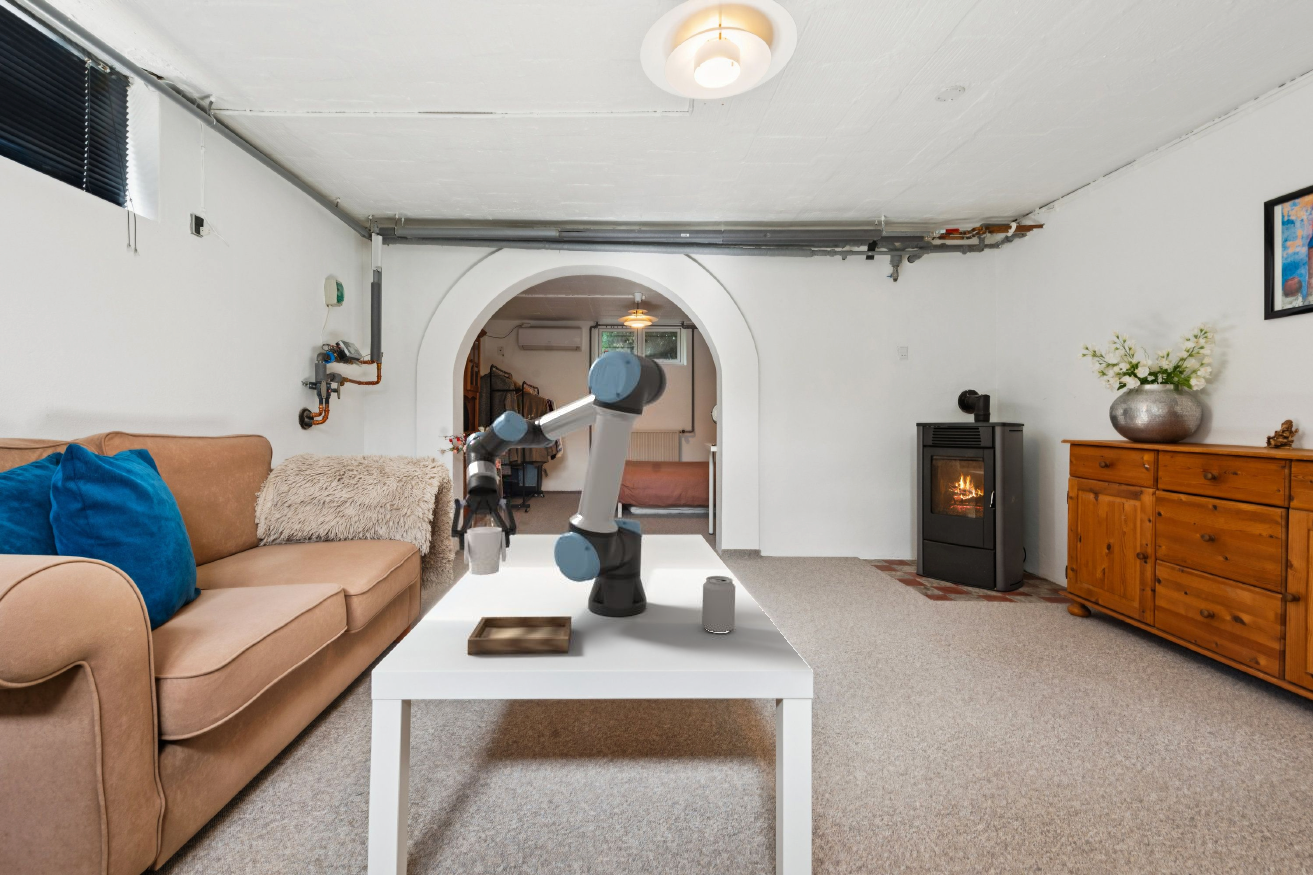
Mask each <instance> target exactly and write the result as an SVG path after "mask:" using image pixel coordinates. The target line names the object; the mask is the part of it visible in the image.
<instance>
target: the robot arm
mask: <svg viewBox="0 0 1313 875" xmlns="http://www.w3.org/2000/svg"><path fill="white" fill-rule="evenodd" d="M587 383H588V384H587V385H588V388H590V394H588V395H585V396H582V397H581V398H579V399H577V400H574V401H572V402H570V403H568V404H566V405H564V406H561V407H559V408H557V409H555V410H553V411H552V410H551V411H550V412H548V413H546V414H544V415H542V416H539V417H537V418H535V419H532V420H531V419H525V418H524V417H523V416H522V415H521V414H520V413H516V412H515V411H512V410H507V411H505V412H503V413H502V414H501V415H500V416H499V417H497V418H496V419H495V420H494V422H493V423H492V424H491V425H490V426H489V427H488V428H487V429H485V431H478V432H476V433H472V434H470V436H468V437H467V439H466V442H465V443H466V444H465V445H466V446H465V463H466V498H465V499H459V498H454V499H453V500H454V502H453V508H454V512H453V513H454V514H453V519H452V523H451V528H450V537H451V538H453V539H455V538H457V539H458V548H459V551H463V552H464V554H463V558H464V561H463V562H464V563H463V564H464V565H469V560H468V536H467V530H468V529H470V527H471V525H472V524H473V521H474V520H475V519H476V518H477V517H476V516H481V515H487V516H488V515H489V516H490V518H491V519H493V521H494V523H495V525H496V527H499V528H502V540H501V554H500V555H501V563H503V562H504V563H506V560H507V548H508V549H510V547H511V546H510V545H511V538H510V537H511V536H515V535H516V534H517V528H518V527H517V522H516V520H515V516H514V513H513V509H512V505H511V504H512V503H511V502H512V498H511V497H507V498H506V499H503V498H501V497H500V496H499V495H500V494H499V489H498V488H499V487H498V473H497V472H498V471H497V461H498V459H499V458H501V457H502V456H503V455H504V454H505V453H506V452H507V451H508V450H509V449H511V448H513V449H514V448H515V449H518V448H539V449H540V448H542V449H543V448H548V447H551V446H553V445H554V444H555V442H556V441H557V440H558V439H561V438H563V437H565V436H567V435H570V434H572V433H575V432H577V431H580V430H582V429H585V428H587V427H589V426H591V425H594V424H595V425H594V431H593V434H592V440H591V445H590V449H589V454H588V460H587V465H586V470H585V475H584V481H583V485H582V490H581V495H580V500H579V504H578V509H577V512H576V513H575V514H573V515H572V516H571V517H570V518H569V522H568V526H567V530H566V532H565V533H563V534H562V535H561V536H560V537H559V538H558V539H557V540H556V542H555V544H554V548H553V555H554V556H553V557H554V558H553V559H554V561H555V564H556V566H557V567H558V569H559V571H560V573H561V574H562V575H563V576H564V577H565V578H567V579H568V580H570V581H572V582H575V583H580V582H581V583H582V582H587V581H592V580H594V581H593V584H592V587H591V590H590V592H589V595H588V601H587V602H588V603H587V609H588V610H589V611H590V612H592V613H594V614H596V615H602V616H607V617H627V616H634V615H639V614H641V613H643V612H645V611H646V610H645V609H647V608H646V607H647V604H648V603H647V602H648V601H647V596H646V593H645V588H644V585H643V582H642V579H641V574H642V573H641V570H642V569H641V567H642V540H643V538H642V537H643V533H642V524H641V522H640V521H639V520H636V519H635V520H634V519H628V518H627V519H626V518H616V517H615V513H616V508H617V504H618V498H619V495H620V489H621V486H622V480H623V475H624V470H625V465H626V461H627V460H626V459H627V456H628V451H629V446H630V441H631V437H632V436H631V435H632V431H633V428H634V427H633V426H634V422H635V421H636V420H638V419H640V418H641V417H642V415H643V411H644V407H647V406H650V405H652V404H654V403H656V402H658V401H659V400H660V399H661V397H662V396H663V395H664V393H665V392H666V388H667V375H666V372H665V370H664V367H663V366H662V365H661V364H660V363H659V362H658V361H657V360H655V359H653V358H650V357H647V356H643V355H639V354H635V353H632V352H629V351H626V350H625V351H624V350H623V351H622V350H610V351H607V352H604V353H603V354H601V355H600V356H598V357H597V358H596V359H595V360H594V362H593V363H592V365H591V367H590V369H589V372H588V377H587ZM500 505H501V507H502V509H504V513H505V517H506V521H507V522H505V520H504V519H503V517H502V515H501V513H500V512H499V510H498V507H499V506H500ZM464 506H466V507H467V508H468V509H469V511H468V514H467V515H466V518H465V520H464V521H463V524H461V526H460V529H458V528H459V523H460V520H461V519H460V517H461V514H462V513H461V512H462V510H463V509H464ZM506 523H507V524H506ZM644 610H645V611H644Z"/></svg>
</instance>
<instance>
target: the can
mask: <svg viewBox="0 0 1313 875" xmlns="http://www.w3.org/2000/svg"><path fill="white" fill-rule="evenodd" d="M705 580H706V581H704V583H703V584H702V612H701V613H702V614H701V615H702V617H701V622H702V624H701V626H702V627H703V629H705V630H706V629H707V630H709V631H713V632H726V631H730V630H731V631H732V630H733V629H735V622H736V620H735V619H736V618H735V616H736V615H735V614H736V585H735V584H734V583H733V581H734V579H733V578H731V577H729V576H726V575H725V576H724V575H712V576H707V577H706V578H705ZM731 631H730V632H731Z"/></svg>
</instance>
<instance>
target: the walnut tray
mask: <svg viewBox="0 0 1313 875" xmlns="http://www.w3.org/2000/svg"><path fill="white" fill-rule="evenodd" d="M572 619H573V618H572V615H571V616H569V615H567V616H565V615H564V616H557V615H555V616H482V617H481V618H480V619H479V621H478V623H477V624H476V626H475V628H474V629H473V631H472V632H471V634H470V635H469V637H468V638H467V654H469V655H522V654H523V655H527V654H529V655H530V654H535V655H536V654H538V655H539V654H540V655H541V654H568V652H569V646H570V639H571V634H572Z"/></svg>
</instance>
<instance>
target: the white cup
mask: <svg viewBox="0 0 1313 875" xmlns="http://www.w3.org/2000/svg"><path fill="white" fill-rule="evenodd" d="M467 536H468V569H469V570H468V571H469V573H470V574H471V575H475V576H477V575H478V576H485V575H487V576H488V575H494V574H497V573H498V572H499V571H500V560H501V555H502V554H501V540H502V528H499V527H498V526H478V527H471V528H469V529H468V530H467Z"/></svg>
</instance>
